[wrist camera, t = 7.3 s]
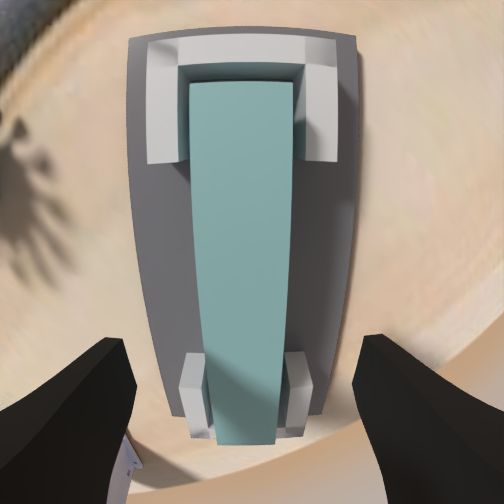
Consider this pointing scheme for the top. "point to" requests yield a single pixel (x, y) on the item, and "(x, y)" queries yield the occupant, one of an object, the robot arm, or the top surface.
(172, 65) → the cradle
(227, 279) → the teal rectangular block
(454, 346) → the top surface
